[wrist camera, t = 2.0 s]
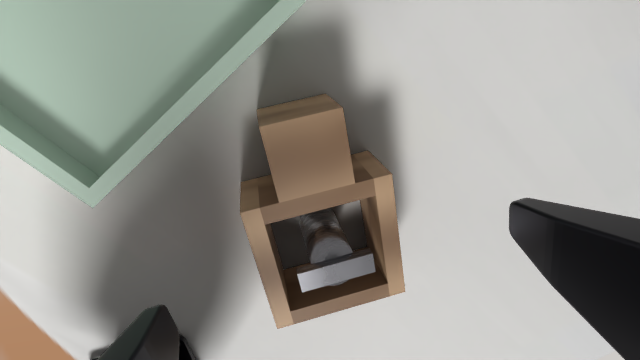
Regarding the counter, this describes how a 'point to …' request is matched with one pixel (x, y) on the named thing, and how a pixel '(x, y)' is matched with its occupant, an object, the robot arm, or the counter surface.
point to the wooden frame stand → (318, 206)
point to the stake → (329, 253)
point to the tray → (115, 77)
